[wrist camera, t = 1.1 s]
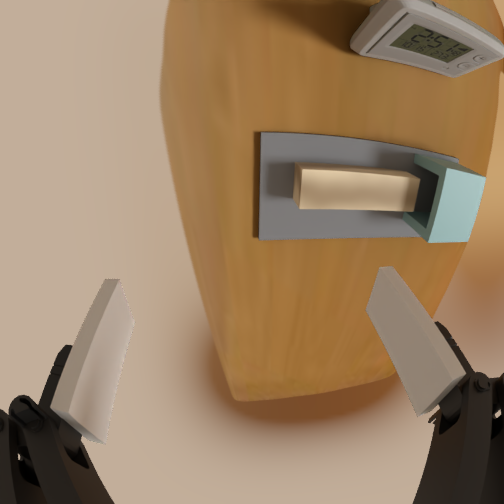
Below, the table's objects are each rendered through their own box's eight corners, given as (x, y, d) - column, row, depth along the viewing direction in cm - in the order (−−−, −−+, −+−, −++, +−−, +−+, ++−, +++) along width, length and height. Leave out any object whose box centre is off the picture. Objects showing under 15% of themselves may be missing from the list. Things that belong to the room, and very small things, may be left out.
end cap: (415, 153, 26) (447, 167, 21) (456, 162, 27) (486, 177, 22) (402, 219, 31) (427, 242, 26) (442, 220, 31) (467, 241, 26)
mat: (260, 131, 25) (261, 132, 24) (456, 157, 27) (458, 159, 26) (258, 237, 31) (259, 240, 31) (437, 234, 33) (439, 236, 33)
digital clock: (339, 51, 21) (395, 33, 12) (345, -13, 16) (394, -47, 7) (448, 97, 23) (510, 111, 14) (452, 41, 18) (511, 41, 9)
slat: (295, 162, 26) (302, 169, 24) (406, 171, 27) (420, 179, 25) (292, 198, 28) (299, 209, 26) (400, 201, 29) (413, 211, 27)
